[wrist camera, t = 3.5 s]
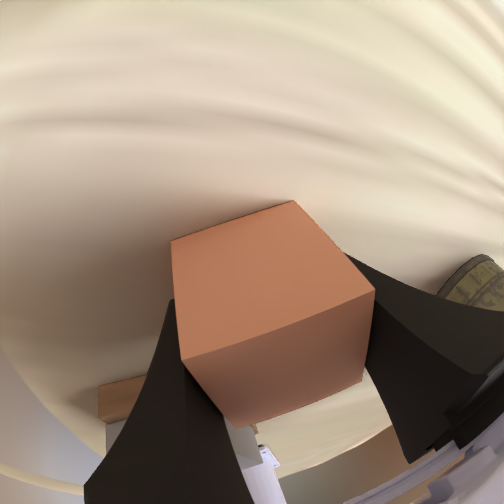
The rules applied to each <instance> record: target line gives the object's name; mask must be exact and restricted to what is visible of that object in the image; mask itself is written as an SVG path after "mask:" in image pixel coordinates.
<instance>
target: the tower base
mask: <svg viewBox="0 0 504 504" xmlns="http://www.w3.org/2000/svg"><path fill="white" fill-rule="evenodd" d="M146 376H147V375H144V376H140V377H136V378H132V379H128V380H124V381H120V382H115V383H111V384H106V385H102V386H99V402H98V418H100V419H101V420H102V421H104V422H105V423H107V424H112V423H115V422H119V421H122V420H125V419H128V417H129V415H130V413H131V410H132V408H133V406H134V404H135V402H136V400H137V398H138V396H139V393H140V391H141V389H142V386H143V384H144V381H145V379H146ZM249 426H250V427H252V429H253V432H254V434H257V433H258V431H257V427H256V424H252V425H249Z"/></svg>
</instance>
